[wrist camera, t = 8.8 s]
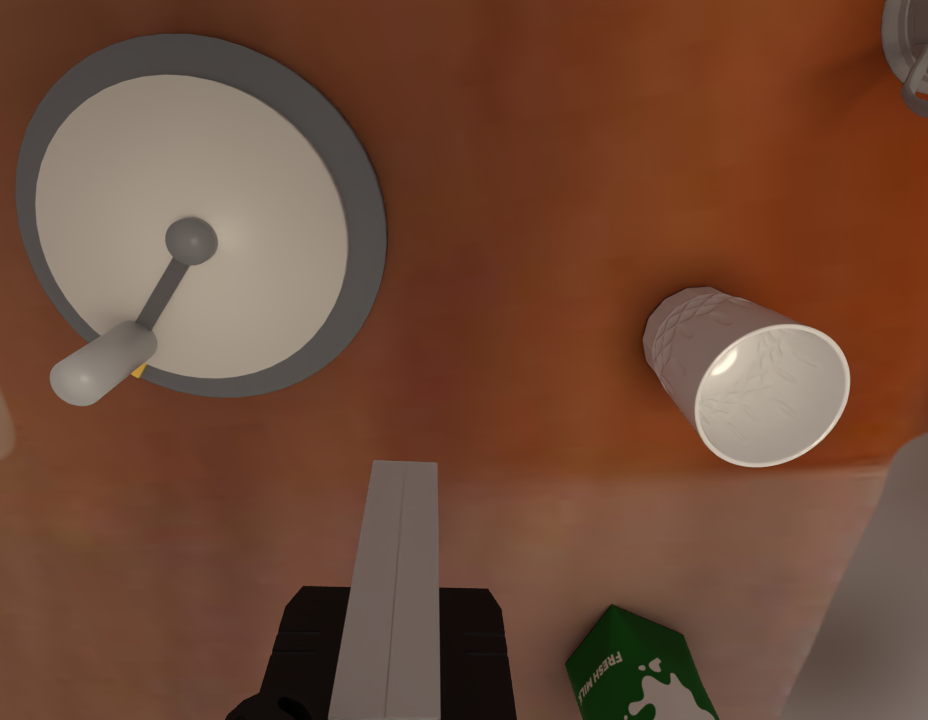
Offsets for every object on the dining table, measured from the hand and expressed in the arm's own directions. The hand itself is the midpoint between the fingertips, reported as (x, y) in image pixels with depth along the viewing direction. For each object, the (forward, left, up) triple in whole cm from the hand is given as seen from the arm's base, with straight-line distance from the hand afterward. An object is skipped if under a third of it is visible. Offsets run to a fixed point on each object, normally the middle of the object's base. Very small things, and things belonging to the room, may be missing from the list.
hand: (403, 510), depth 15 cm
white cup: (+3, +18, -25) cm, 31 cm away
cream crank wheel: (-2, -12, -22) cm, 25 cm away
